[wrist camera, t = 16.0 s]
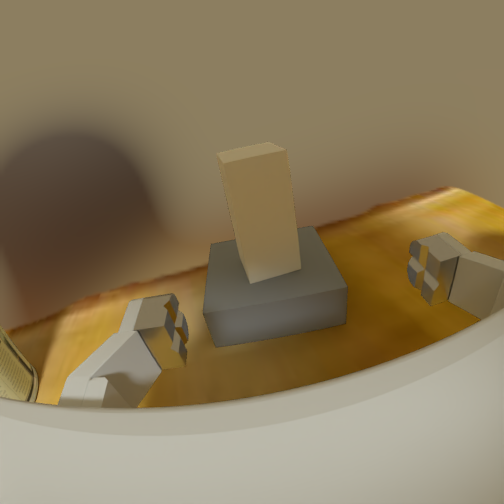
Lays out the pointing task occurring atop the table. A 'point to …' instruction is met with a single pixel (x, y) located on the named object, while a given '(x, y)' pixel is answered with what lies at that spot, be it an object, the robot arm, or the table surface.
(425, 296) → the robot arm
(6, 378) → the coffee can
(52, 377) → the table surface
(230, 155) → the cream block
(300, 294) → the gray square block
